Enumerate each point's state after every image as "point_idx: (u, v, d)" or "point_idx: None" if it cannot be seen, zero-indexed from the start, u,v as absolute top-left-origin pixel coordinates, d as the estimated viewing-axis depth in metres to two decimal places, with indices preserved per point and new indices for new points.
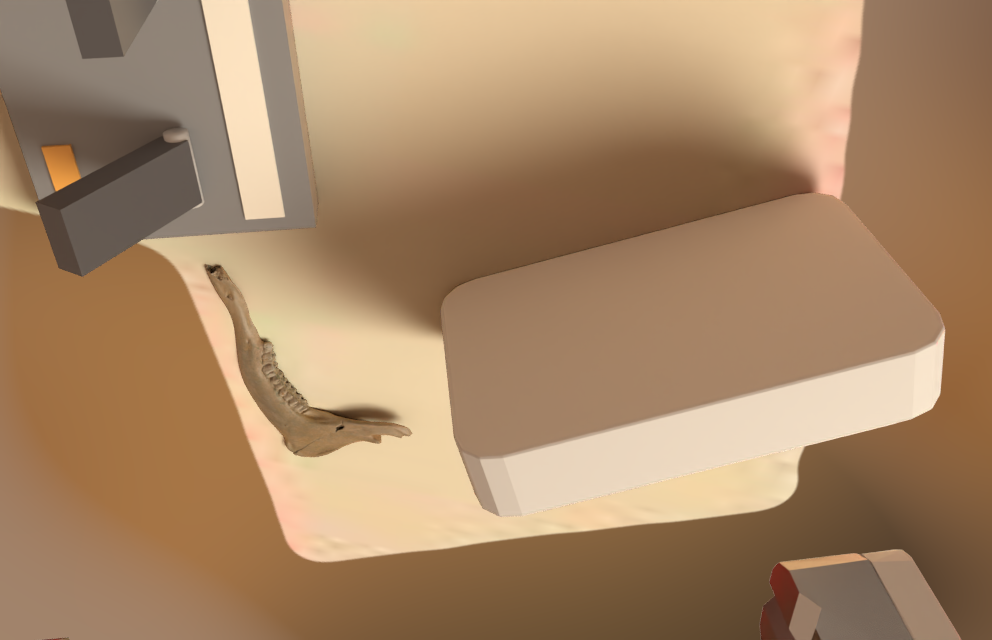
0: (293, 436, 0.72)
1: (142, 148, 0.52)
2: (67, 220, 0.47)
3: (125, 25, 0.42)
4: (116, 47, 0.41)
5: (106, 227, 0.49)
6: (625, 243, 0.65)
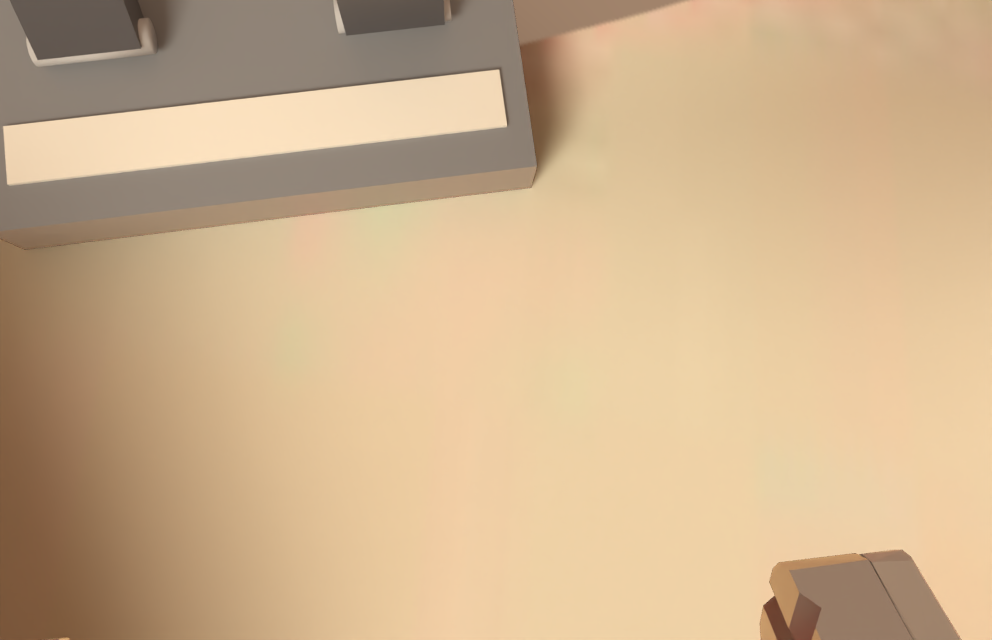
0: None
1: None
2: None
3: None
4: None
5: None
6: None
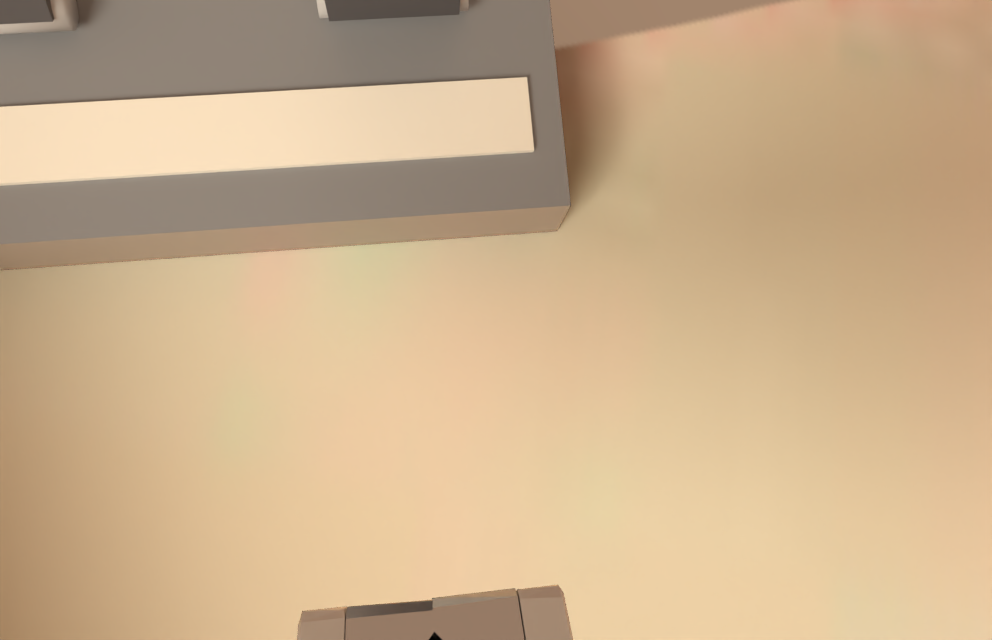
0: None
1: None
2: None
3: None
4: None
5: None
6: None
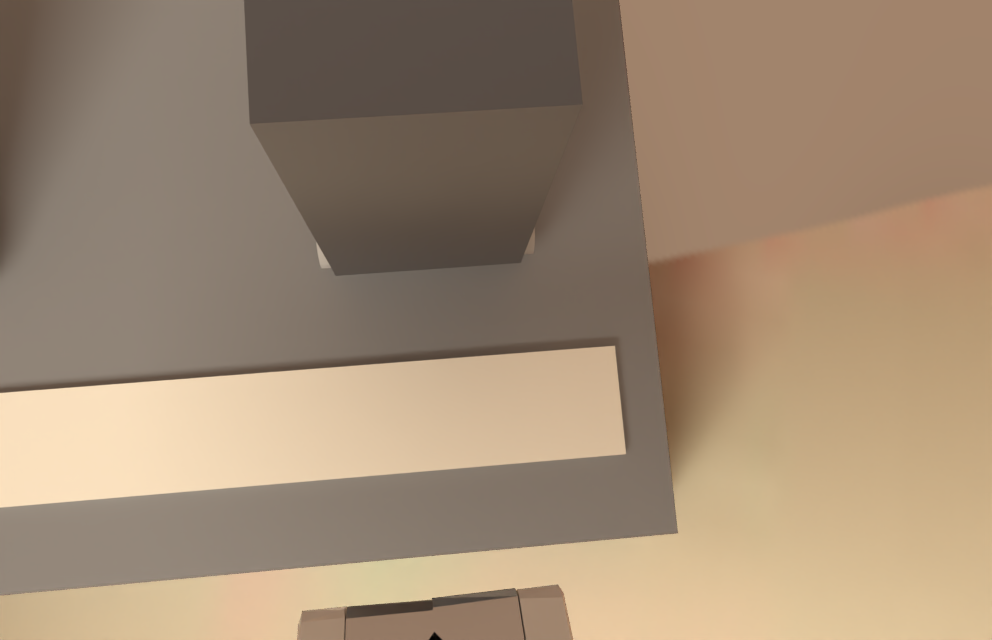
0: None
1: None
2: None
3: (341, 158, 0.12)
4: (285, 104, 0.11)
5: None
6: None
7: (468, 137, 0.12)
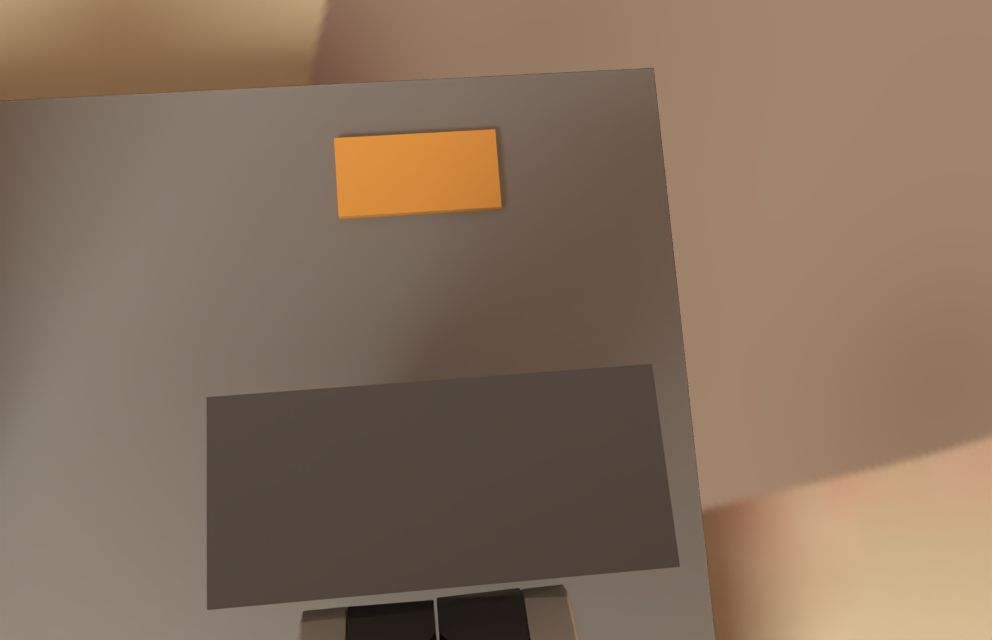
0: None
1: None
2: None
3: None
4: (259, 578, 0.08)
5: None
6: None
7: None
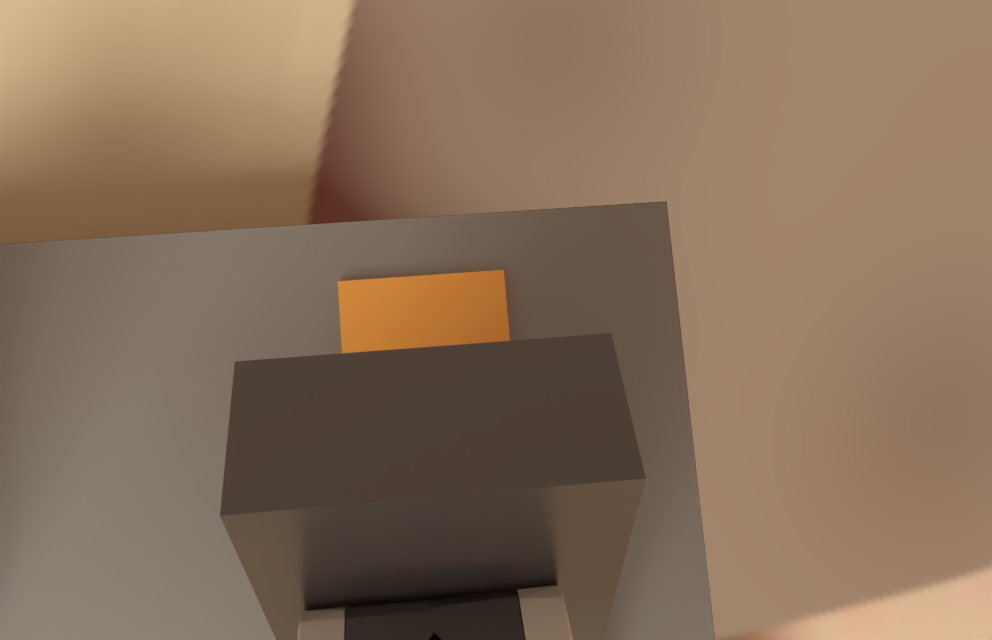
0: None
1: None
2: None
3: (338, 573, 0.10)
4: (268, 491, 0.09)
5: None
6: None
7: (501, 536, 0.09)
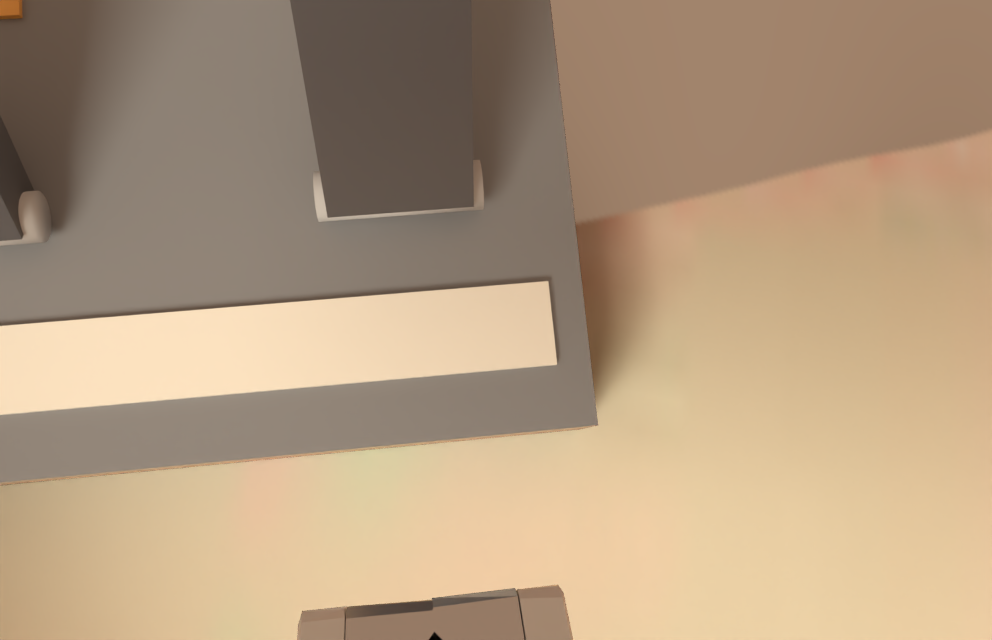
0: None
1: (8, 143, 0.24)
2: None
3: None
4: None
5: None
6: None
7: None
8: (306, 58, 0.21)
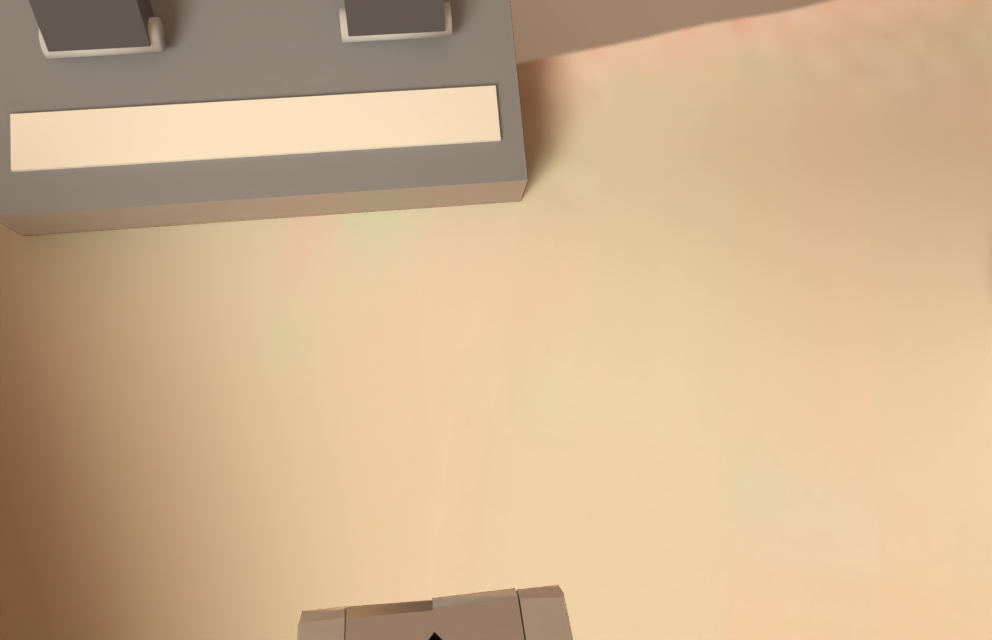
0: None
1: None
2: None
3: None
4: None
5: None
6: None
7: None
8: None
